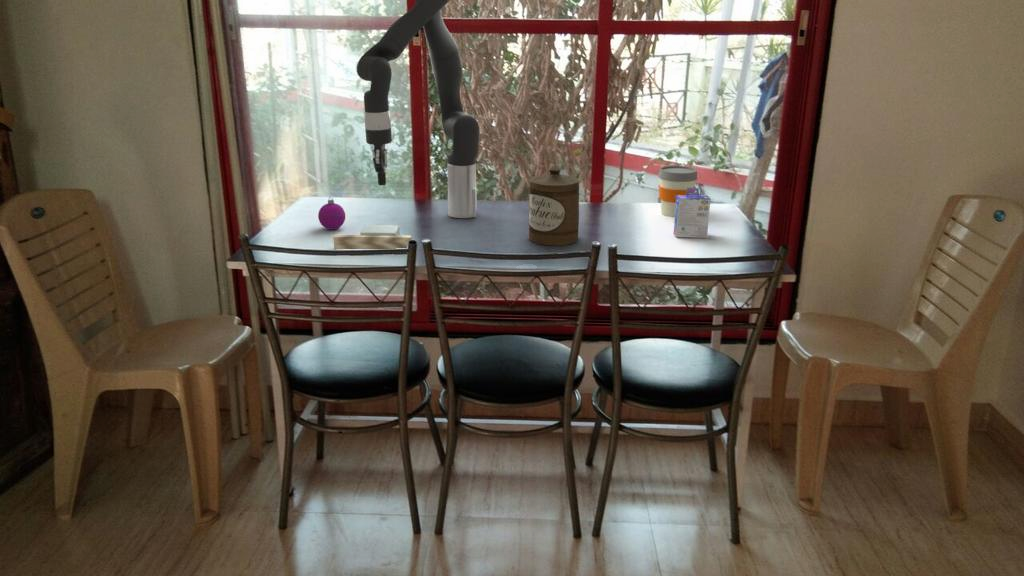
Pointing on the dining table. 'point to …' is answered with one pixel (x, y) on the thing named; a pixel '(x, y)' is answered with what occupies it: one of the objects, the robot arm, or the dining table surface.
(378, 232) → the block
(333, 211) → the christmas ornament
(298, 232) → the dining table surface
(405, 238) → the board
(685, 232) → the ink cartridge box
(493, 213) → the dining table surface
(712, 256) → the dining table surface
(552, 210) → the wooden container
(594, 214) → the dining table surface
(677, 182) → the reusable coffee cup
